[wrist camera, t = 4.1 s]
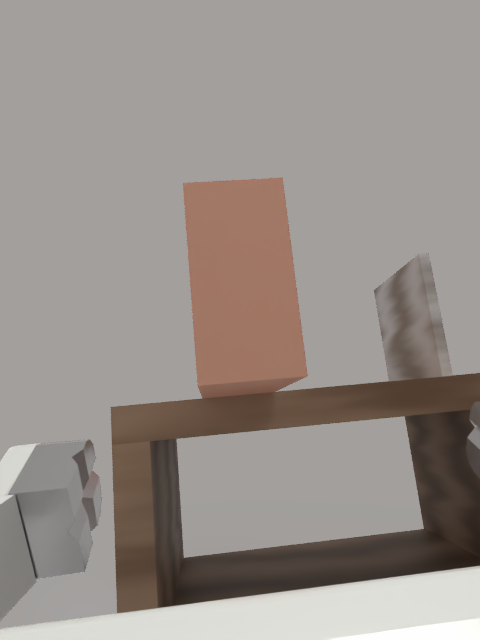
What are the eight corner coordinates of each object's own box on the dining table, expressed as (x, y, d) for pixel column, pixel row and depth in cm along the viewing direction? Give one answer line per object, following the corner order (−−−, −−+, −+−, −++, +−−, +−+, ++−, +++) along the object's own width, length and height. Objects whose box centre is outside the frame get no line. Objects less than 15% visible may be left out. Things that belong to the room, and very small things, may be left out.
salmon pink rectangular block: (206, 407, 39) (199, 318, 41) (251, 402, 40) (242, 315, 41) (197, 386, 16) (183, 183, 18) (307, 376, 16) (282, 177, 18)
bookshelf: (169, 739, 36) (147, 309, 44) (474, 692, 38) (402, 290, 46) (130, 1035, 19) (105, 236, 27) (695, 920, 21) (519, 210, 29)
